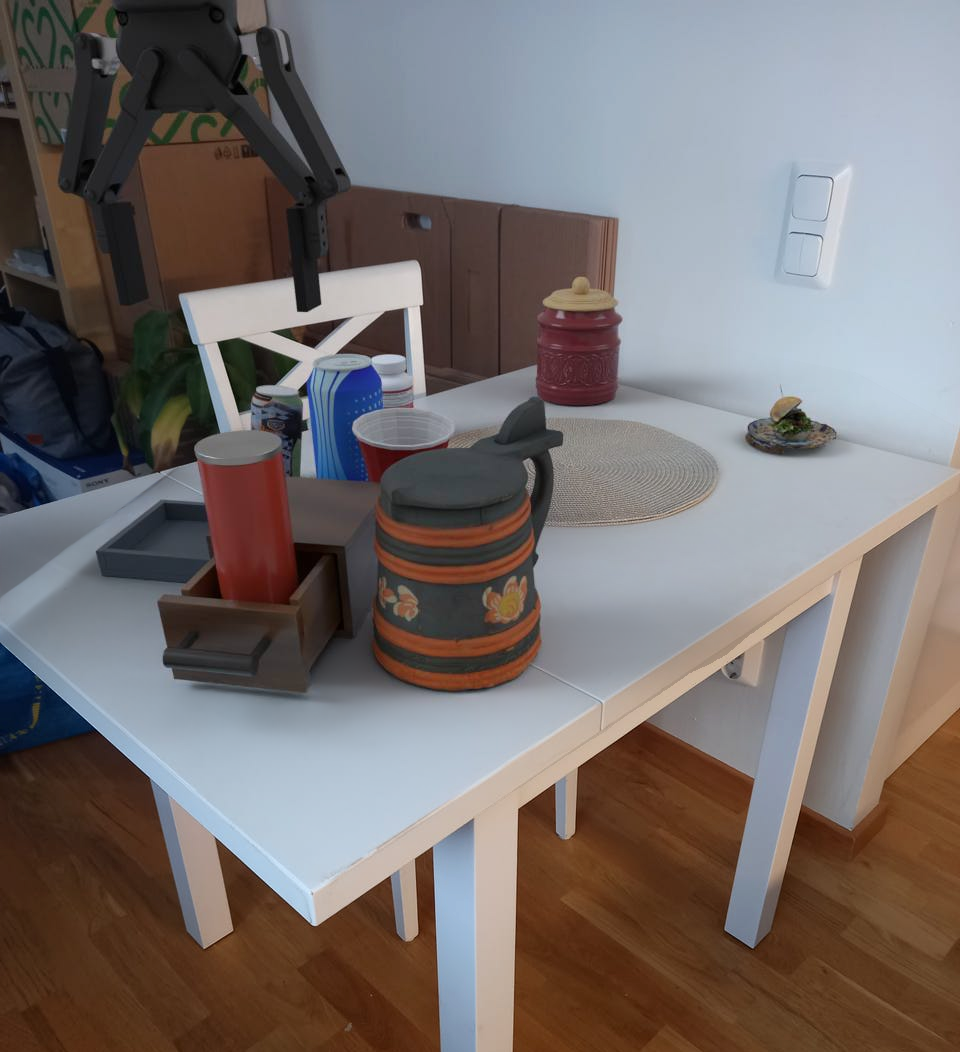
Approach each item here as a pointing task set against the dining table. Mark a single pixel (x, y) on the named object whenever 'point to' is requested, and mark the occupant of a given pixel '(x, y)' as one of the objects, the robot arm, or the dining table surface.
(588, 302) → the kitchen canister
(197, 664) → the drawer
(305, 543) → the cabinet
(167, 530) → the tray
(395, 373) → the pill bottle
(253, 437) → the tin
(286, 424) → the beverage can
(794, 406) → the burger
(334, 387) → the beer can
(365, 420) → the plastic cup
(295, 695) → the dining table surface
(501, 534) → the beer stein
